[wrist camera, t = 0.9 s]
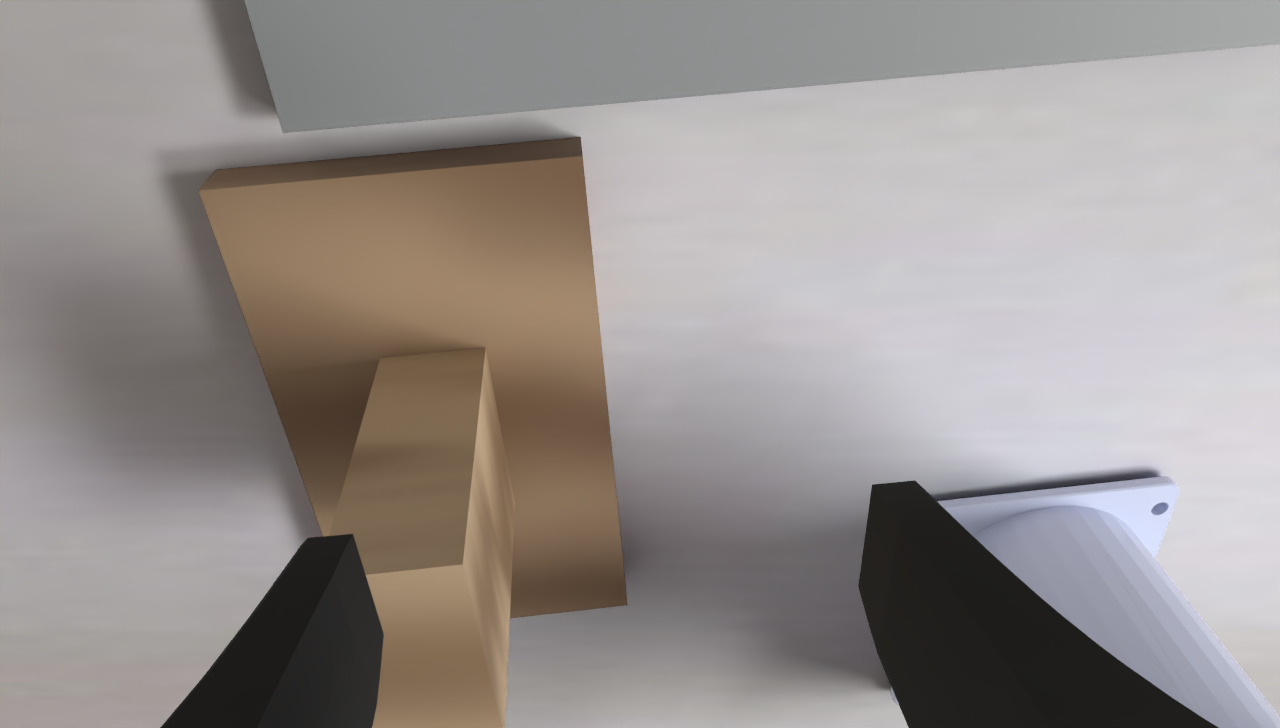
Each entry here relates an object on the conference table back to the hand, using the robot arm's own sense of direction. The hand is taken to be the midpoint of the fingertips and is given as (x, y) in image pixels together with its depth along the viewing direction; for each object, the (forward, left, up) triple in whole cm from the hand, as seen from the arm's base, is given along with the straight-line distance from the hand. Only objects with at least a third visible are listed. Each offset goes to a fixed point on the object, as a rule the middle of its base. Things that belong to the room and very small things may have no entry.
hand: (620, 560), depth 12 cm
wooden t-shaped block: (-4, +4, -11) cm, 12 cm away
